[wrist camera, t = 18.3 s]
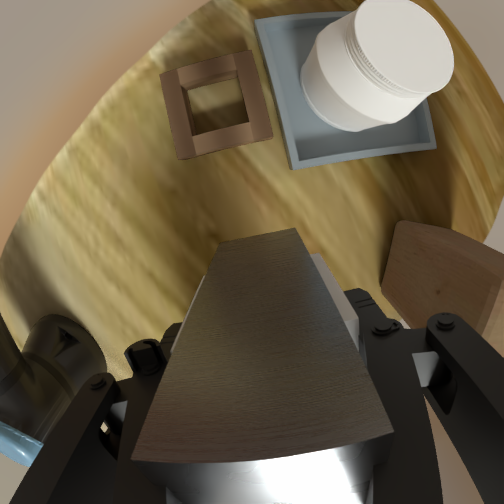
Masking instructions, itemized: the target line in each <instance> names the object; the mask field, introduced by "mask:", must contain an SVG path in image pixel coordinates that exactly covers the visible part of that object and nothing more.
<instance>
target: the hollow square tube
mask: <svg viewBox="0 0 504 504" xmlns="http://www.w3.org/2000/svg"><path fill="white" fill-rule="evenodd" d="M237 77H238V78H239V82H240V86H241V90H242V94H243V98H244V102H245V106H246V110H247V114H248V118H249V122H247V123H243V124H238V125H234V126H230V127H226V128H222V129H218V130H214V131H210V132H206V133H203V134H199V135H197V133H196V128H195V124H194V120H193V115H192V111H191V107H190V102H189V98H188V93H187V90H191V89H194V88H198V87H201V86H205V85H209V84H212V83H216V82H220V81H224V80H228V79H233V78H237ZM160 80H161V85H162V90H163V95H164V99H165V104H166V109H167V113H168V118H169V122H170V127H171V131H172V135H173V140H174V144H175V148H176V153H177V157H178V160H186V159H190V158H194V157H197V156H201V155H205V154H208V153H212V152H216V151H220V150H224V149H228V148H232V147H237V146H241V145H245V144H250V143H254V142H259V141H264V140H268V139H272V138H273V133H272V128H271V124H270V120H269V116H268V112H267V108H266V104H265V100H264V96H263V92H262V88H261V84H260V80H259V76H258V73H257V69H256V65H255V61H254V58H253V54H252V50H247V51H242V52H238V53H233V54H229V55H224V56H220V57H216V58H212V59H209V60H205V61H201V62H198V63H194V64H191V65H187V66H184V67H181V68H178V69H174V70H171V71H168V72H165V73H163V74H160Z"/></svg>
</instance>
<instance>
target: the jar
mask: <svg viewBox="0 0 504 504" xmlns="http://www.w3.org/2000/svg"><path fill="white" fill-rule="evenodd" d="M453 68H454V57H453V51H452V48H451V45H450V42H449V40H448V38H447V36H446V34H445V32H444V30H443V29H442V27H441V26H440V25H439V23H438V22H437V21H436V20H435V19H434V18H433V17H432V16H431V15H430V14H429V13H428V12H427V11H425V10H424V9H423V8H421V7H420V6H418V5H417V4H415V3H413V2H411V1H409V0H365V1H364V2H363V3H362V4H361V5H360V6H359V7H358V8H357V10H355V11H353V12H351V13H350V14H348V15H346V16H344V17H342V18H340V19H338V20H337V21H335V22H333V23H330V24H329V25H328V26H327V27H325V28H324V29H323V30H322V31H321V32H320V33H319V34H318V35H317V37H316V40H315V44H314V46H313V48H312V50H311V52H310V54H309V56H308V58H307V60H306V62H305V64H303V66H302V68H301V73H300V84H301V89H302V93H303V95H304V98H305V100H306V102H307V103H308V105H309V107H310V108H311V109H312V110H313V112H314V113H315V114H316V115H317V116H318V117H319V118H321V119H322V120H323V121H324V122H326V123H328V124H329V125H331V126H333V127H335V128H338V129H341V130H344V131H350V132H359V131H362V130H364V129H368V128H371V127H375V126H379V125H383V124H392V123H396V122H397V121H399V120H401V119H402V118H404V117H406V116H407V115H409V113H410V112H411V111H412V110H413V109H414V108H415V107H416V106H418V105H419V104H420V103H421V102H422V101H423V100H424V99H425V98H426V97H427V96H429V95H430V94H431V93H434V92H436V91H438V90H440V89H442V88H443V87H444V86H446V84H447V83H448V82H449V80H450V78H451V76H452V73H453Z"/></svg>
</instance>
